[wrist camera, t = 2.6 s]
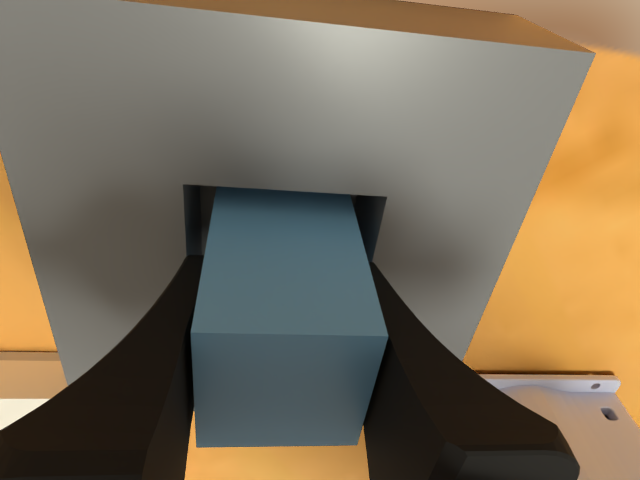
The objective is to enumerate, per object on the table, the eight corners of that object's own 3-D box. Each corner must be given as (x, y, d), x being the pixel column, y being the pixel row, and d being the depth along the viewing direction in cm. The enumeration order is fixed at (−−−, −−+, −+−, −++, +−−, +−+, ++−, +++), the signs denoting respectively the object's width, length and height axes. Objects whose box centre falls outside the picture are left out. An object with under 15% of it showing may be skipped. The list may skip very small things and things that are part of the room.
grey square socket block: (517, 14, 15) (595, 53, 11) (413, 328, 23) (440, 410, 19) (39, -43, 13) (-49, -19, 9) (108, 322, 21) (75, 411, 17)
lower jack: (158, 353, 23) (147, 398, 21) (174, 501, 31) (168, 544, 29) (-179, 349, 21) (-228, 398, 19) (-67, 508, 29) (-93, 555, 27)
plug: (341, 162, 16) (388, 336, 10) (324, 266, 19) (353, 458, 13) (222, 153, 16) (190, 332, 9) (222, 262, 18) (197, 460, 12)
